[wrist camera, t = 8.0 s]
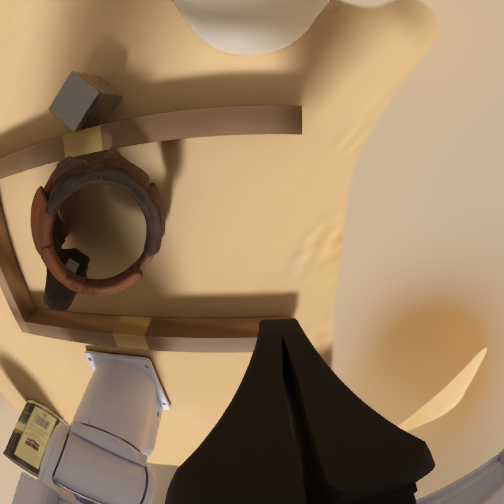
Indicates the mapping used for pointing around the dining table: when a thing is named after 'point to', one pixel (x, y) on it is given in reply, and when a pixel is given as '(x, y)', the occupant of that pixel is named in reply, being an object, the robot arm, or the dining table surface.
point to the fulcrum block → (84, 101)
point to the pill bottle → (250, 22)
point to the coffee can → (32, 436)
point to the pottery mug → (54, 231)
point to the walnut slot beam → (129, 327)
